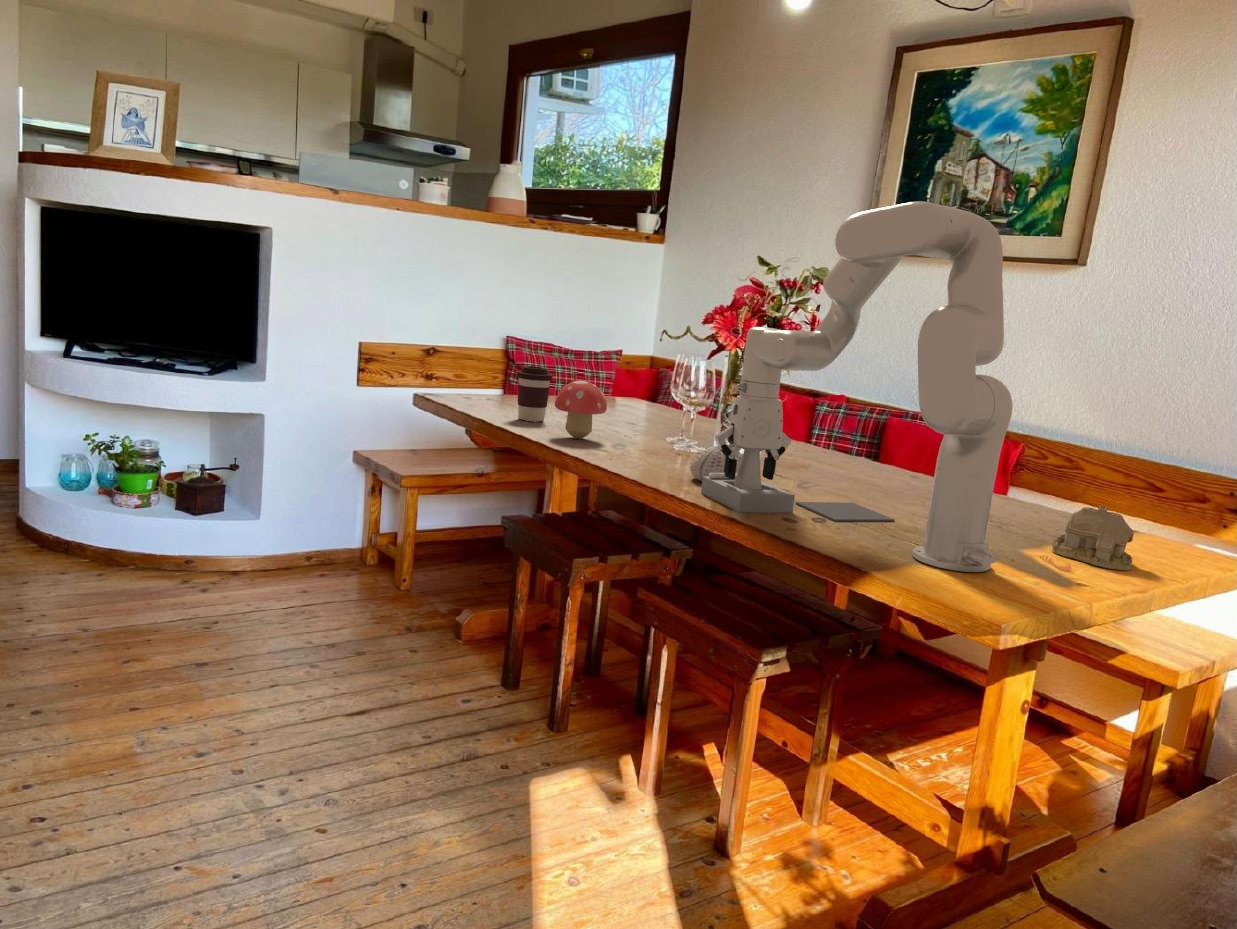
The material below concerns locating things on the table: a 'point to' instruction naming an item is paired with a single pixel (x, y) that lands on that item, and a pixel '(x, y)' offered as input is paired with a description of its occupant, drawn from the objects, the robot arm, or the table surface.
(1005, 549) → the table surface
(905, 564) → the table surface
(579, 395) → the decorative mushroom
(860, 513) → the mat
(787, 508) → the caddy
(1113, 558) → the ceramic model
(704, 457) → the sea urchin shell
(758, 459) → the salt shaker
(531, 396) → the coffee cup
